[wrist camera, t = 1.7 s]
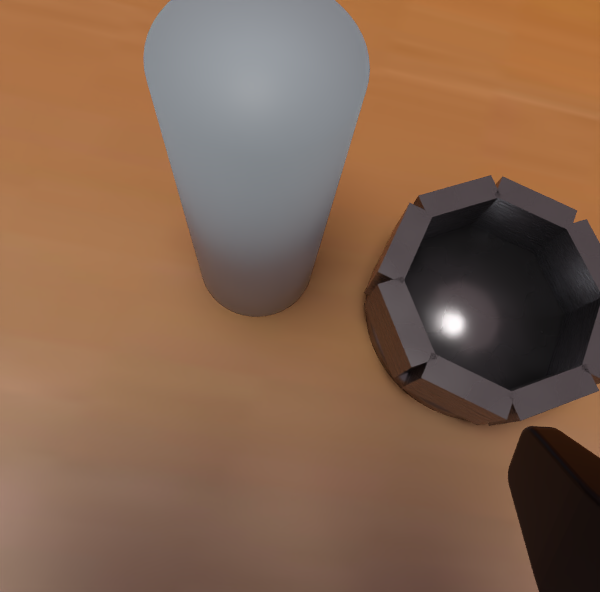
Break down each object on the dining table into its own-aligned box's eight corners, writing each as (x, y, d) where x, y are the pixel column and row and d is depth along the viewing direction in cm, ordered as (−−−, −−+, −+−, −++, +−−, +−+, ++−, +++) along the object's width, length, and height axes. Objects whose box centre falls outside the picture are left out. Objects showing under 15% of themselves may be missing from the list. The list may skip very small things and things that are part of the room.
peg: (327, 297, 22) (403, 124, 11) (219, 331, 21) (178, 180, 10) (291, 201, 23) (325, -45, 12) (187, 229, 23) (119, -7, 11)
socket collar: (604, 379, 22) (666, 365, 19) (414, 451, 20) (444, 449, 17) (512, 199, 24) (553, 157, 21) (335, 251, 23) (349, 215, 20)
